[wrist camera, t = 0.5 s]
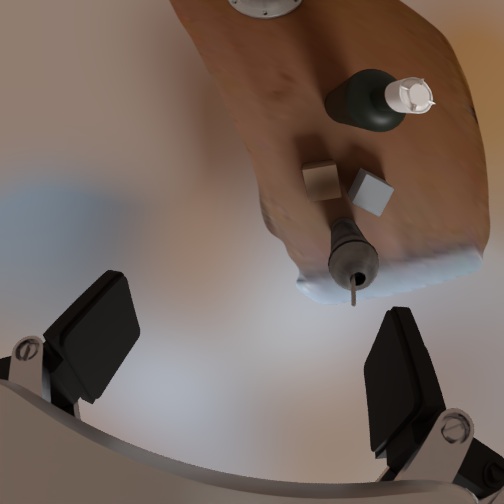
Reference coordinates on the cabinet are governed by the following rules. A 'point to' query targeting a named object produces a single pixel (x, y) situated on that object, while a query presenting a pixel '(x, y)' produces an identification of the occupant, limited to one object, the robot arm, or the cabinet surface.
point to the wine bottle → (377, 100)
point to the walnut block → (321, 180)
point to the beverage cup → (351, 257)
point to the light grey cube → (370, 192)
